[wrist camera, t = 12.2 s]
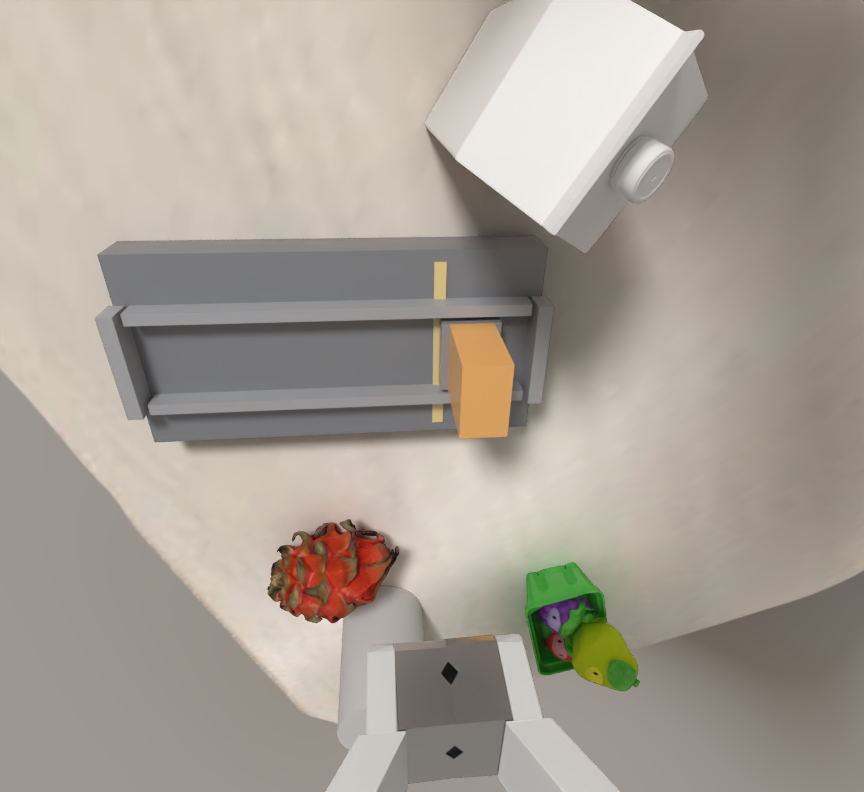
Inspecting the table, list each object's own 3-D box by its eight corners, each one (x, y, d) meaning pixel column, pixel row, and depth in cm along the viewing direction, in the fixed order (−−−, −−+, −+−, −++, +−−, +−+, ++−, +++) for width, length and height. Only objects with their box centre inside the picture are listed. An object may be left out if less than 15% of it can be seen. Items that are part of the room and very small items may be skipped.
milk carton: (422, 124, 34) (469, 176, 18) (490, 8, 31) (619, -56, 15) (511, 189, 36) (623, 286, 20) (581, 87, 34) (776, 105, 17)
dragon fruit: (265, 536, 52) (385, 498, 54) (289, 624, 52) (410, 583, 53) (241, 552, 44) (385, 507, 45) (269, 657, 43) (414, 608, 44)
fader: (439, 316, 37) (453, 366, 31) (497, 315, 37) (523, 364, 31) (438, 380, 40) (451, 439, 33) (492, 379, 40) (515, 436, 34)
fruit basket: (511, 567, 56) (541, 672, 46) (597, 547, 55) (644, 648, 46) (527, 634, 62) (556, 739, 52) (605, 616, 61) (648, 718, 51)
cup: (379, 646, 60) (380, 765, 50) (327, 612, 56) (317, 733, 46) (437, 612, 58) (450, 728, 48) (386, 574, 54) (389, 692, 44)
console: (112, 241, 36) (77, 264, 31) (539, 235, 38) (560, 256, 34) (163, 420, 43) (140, 458, 39) (520, 405, 45) (536, 440, 41)
